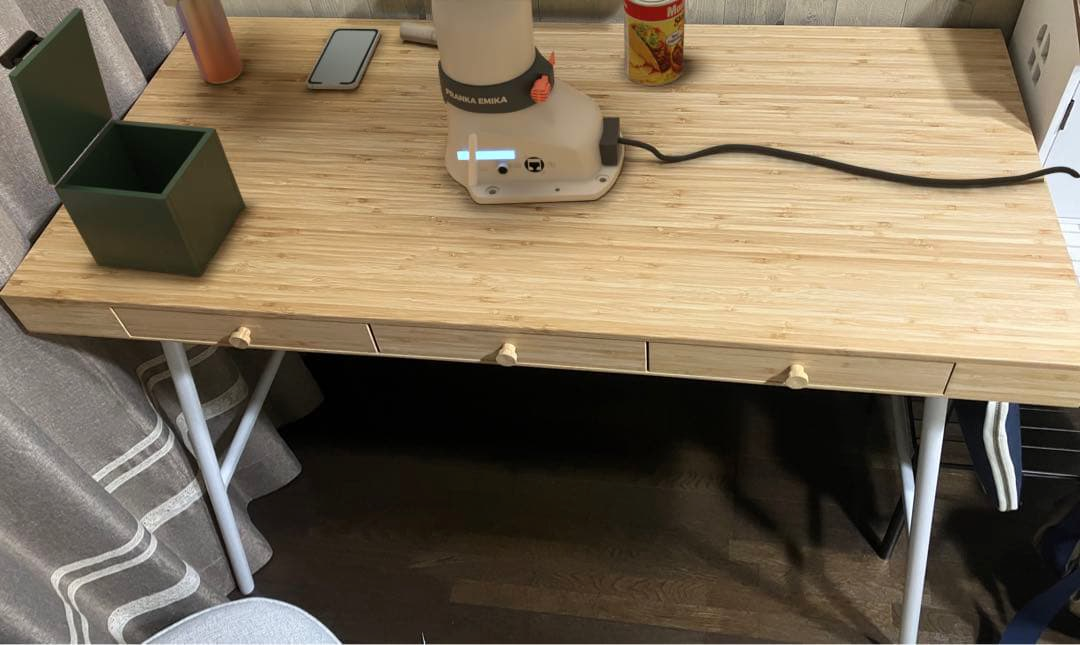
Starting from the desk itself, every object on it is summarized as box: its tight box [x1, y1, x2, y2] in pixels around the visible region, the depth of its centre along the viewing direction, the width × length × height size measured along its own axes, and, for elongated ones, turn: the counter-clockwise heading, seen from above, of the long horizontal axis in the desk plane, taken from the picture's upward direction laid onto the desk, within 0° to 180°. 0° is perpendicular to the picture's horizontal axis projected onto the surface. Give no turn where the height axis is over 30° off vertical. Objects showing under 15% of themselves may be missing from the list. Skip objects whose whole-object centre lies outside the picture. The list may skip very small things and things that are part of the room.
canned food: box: [622, 0, 686, 87], centre depth 133 cm, size 8×8×12 cm
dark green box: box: [53, 118, 246, 278], centre depth 118 cm, size 14×13×12 cm
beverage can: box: [174, 0, 244, 85], centre depth 140 cm, size 6×6×15 cm
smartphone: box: [306, 27, 382, 90], centre depth 144 cm, size 7×1×15 cm
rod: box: [399, 20, 438, 46], centre depth 145 cm, size 12×3×3 cm, turn 67°
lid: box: [0, 7, 114, 186], centre depth 109 cm, size 14×13×5 cm
